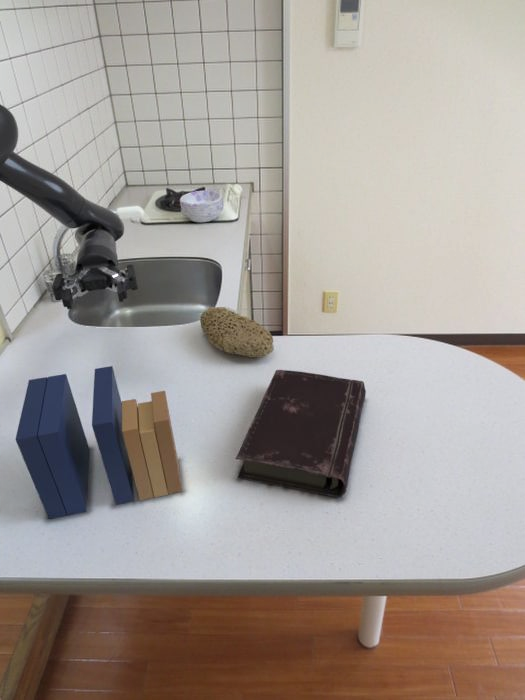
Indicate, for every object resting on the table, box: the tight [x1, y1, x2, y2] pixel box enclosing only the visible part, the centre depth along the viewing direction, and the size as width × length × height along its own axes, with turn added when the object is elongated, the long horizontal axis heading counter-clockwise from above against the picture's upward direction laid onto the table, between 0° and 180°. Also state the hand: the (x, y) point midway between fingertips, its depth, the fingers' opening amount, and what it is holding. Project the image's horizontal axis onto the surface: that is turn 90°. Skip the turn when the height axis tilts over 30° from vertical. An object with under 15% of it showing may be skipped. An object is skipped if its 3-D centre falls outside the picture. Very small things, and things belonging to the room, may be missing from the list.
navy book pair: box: [15, 373, 91, 520], centre depth 83 cm, size 6×14×17 cm, turn 13°
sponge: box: [199, 306, 274, 358], centre depth 118 cm, size 13×8×20 cm
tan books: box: [121, 390, 183, 501], centre depth 83 cm, size 7×7×16 cm
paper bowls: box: [179, 189, 225, 224], centre depth 187 cm, size 15×15×8 cm
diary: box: [235, 369, 367, 499], centre depth 93 cm, size 19×25×5 cm
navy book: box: [91, 365, 135, 506], centre depth 84 cm, size 3×14×17 cm, turn 13°
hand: (94, 300), depth 88 cm, fingers open, 8 cm apart
